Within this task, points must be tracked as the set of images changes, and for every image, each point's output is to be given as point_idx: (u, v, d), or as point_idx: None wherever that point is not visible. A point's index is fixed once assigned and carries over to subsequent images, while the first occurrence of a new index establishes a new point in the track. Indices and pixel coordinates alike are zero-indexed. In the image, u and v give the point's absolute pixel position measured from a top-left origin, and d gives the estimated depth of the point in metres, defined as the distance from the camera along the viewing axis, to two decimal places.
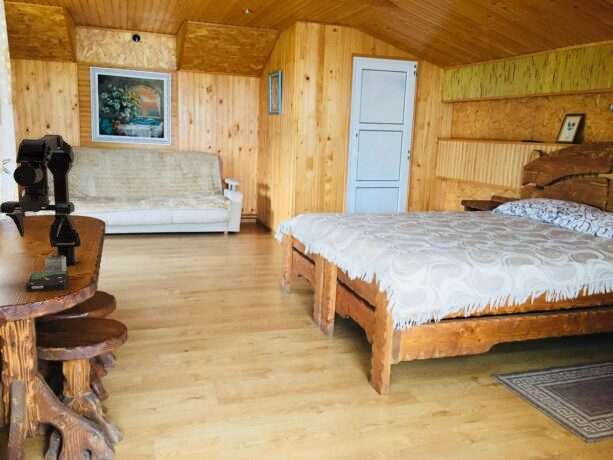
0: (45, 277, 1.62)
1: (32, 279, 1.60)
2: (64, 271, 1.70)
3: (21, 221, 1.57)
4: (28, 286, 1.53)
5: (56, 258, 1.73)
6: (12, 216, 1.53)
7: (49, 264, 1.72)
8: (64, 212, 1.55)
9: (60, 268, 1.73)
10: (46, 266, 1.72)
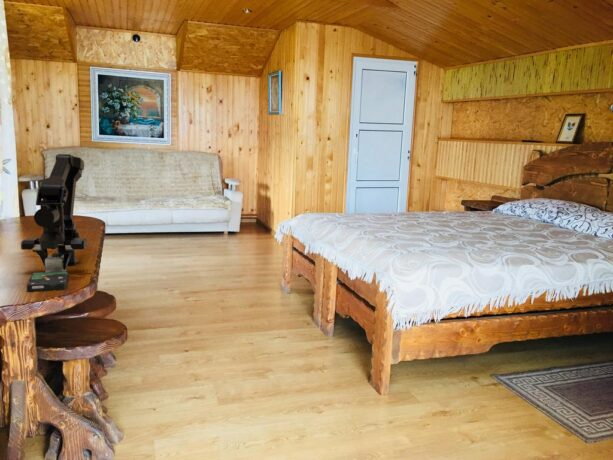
0: (45, 277, 1.62)
1: (32, 279, 1.60)
2: (64, 271, 1.70)
3: (46, 256, 1.74)
4: (28, 286, 1.54)
5: (56, 258, 1.73)
6: (38, 252, 1.71)
7: (49, 264, 1.72)
8: (78, 248, 1.72)
9: (60, 268, 1.73)
10: (46, 266, 1.72)
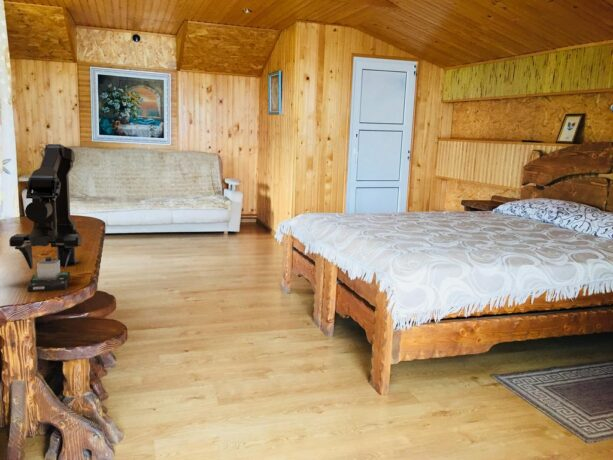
0: None
1: (33, 280, 1.60)
2: (65, 272, 1.70)
3: (30, 253, 1.60)
4: (29, 287, 1.54)
5: (49, 262, 1.59)
6: (21, 249, 1.57)
7: (41, 268, 1.59)
8: (72, 245, 1.58)
9: (53, 273, 1.59)
10: (38, 271, 1.59)
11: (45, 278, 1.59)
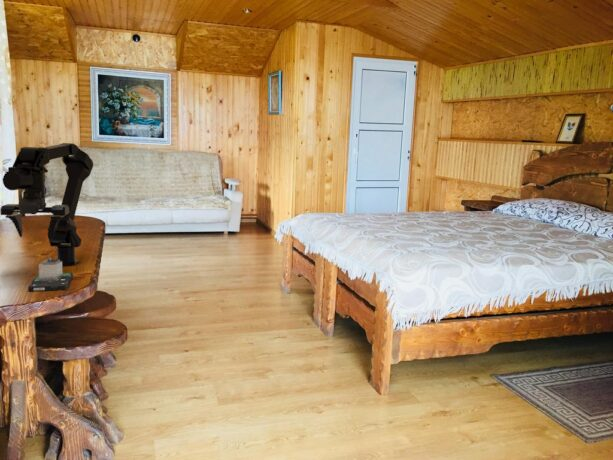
0: None
1: (35, 281, 1.60)
2: (68, 273, 1.70)
3: (20, 222, 1.70)
4: (30, 288, 1.54)
5: (51, 263, 1.59)
6: (11, 218, 1.67)
7: (43, 269, 1.59)
8: (59, 214, 1.69)
9: (55, 274, 1.60)
10: (40, 272, 1.59)
11: (47, 279, 1.59)
